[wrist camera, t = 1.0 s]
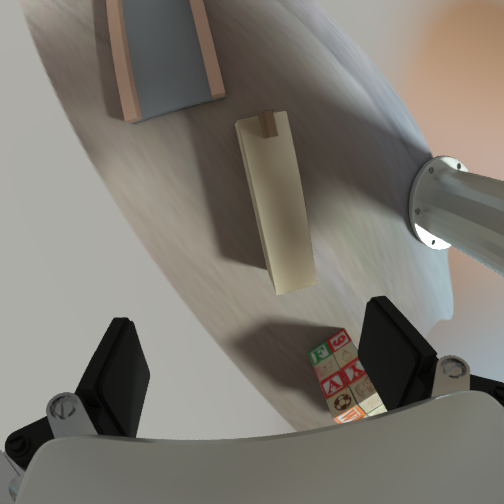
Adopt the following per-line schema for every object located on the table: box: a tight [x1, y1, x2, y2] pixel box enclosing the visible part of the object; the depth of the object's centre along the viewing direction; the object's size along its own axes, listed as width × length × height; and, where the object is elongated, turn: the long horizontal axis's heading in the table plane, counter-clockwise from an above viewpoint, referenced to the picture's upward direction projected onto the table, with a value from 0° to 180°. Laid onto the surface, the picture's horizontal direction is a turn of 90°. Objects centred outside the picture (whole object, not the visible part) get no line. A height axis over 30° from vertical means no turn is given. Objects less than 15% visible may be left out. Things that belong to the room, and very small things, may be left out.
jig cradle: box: [106, 0, 225, 124], centre depth 20 cm, size 9×20×3 cm, turn 13°
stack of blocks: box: [308, 329, 387, 424], centre depth 35 cm, size 21×6×12 cm, turn 37°
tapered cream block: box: [234, 110, 317, 295], centre depth 25 cm, size 4×16×9 cm, turn 12°
